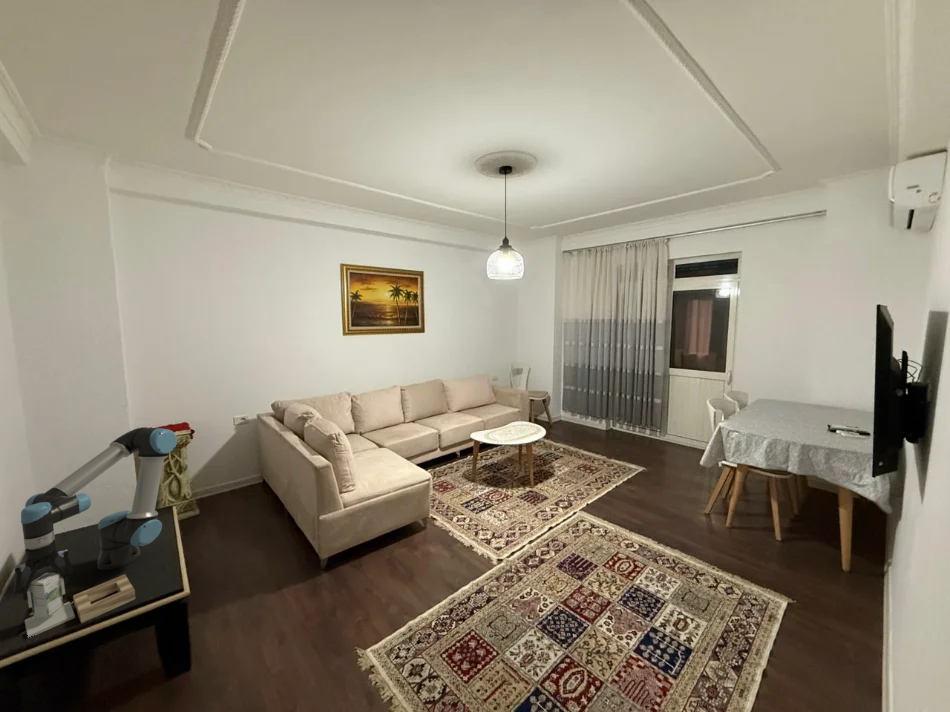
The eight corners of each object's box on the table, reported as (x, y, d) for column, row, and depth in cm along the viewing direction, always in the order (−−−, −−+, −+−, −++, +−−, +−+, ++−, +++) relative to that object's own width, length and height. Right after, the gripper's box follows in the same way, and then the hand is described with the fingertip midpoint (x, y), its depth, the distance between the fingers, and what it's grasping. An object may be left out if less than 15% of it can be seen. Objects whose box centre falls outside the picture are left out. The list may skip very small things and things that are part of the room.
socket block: (74, 604, 156) (73, 595, 155) (125, 582, 168) (125, 574, 168) (81, 623, 146) (80, 614, 146) (135, 598, 159) (134, 590, 158)
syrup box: (49, 605, 150) (45, 572, 148) (64, 606, 150) (59, 572, 148) (33, 617, 145) (27, 582, 143) (48, 617, 145) (43, 583, 143)
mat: (24, 622, 146) (24, 620, 146) (69, 603, 156) (69, 601, 156) (28, 638, 139) (27, 636, 139) (74, 617, 149) (74, 615, 149)
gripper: (-3, 562, 134) (5, 621, 136) (80, 535, 150) (86, 588, 153) (-4, 554, 138) (4, 611, 141) (77, 528, 155) (83, 580, 157)
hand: (47, 599), depth 147 cm, fingers closed on syrup box, 8 cm apart
